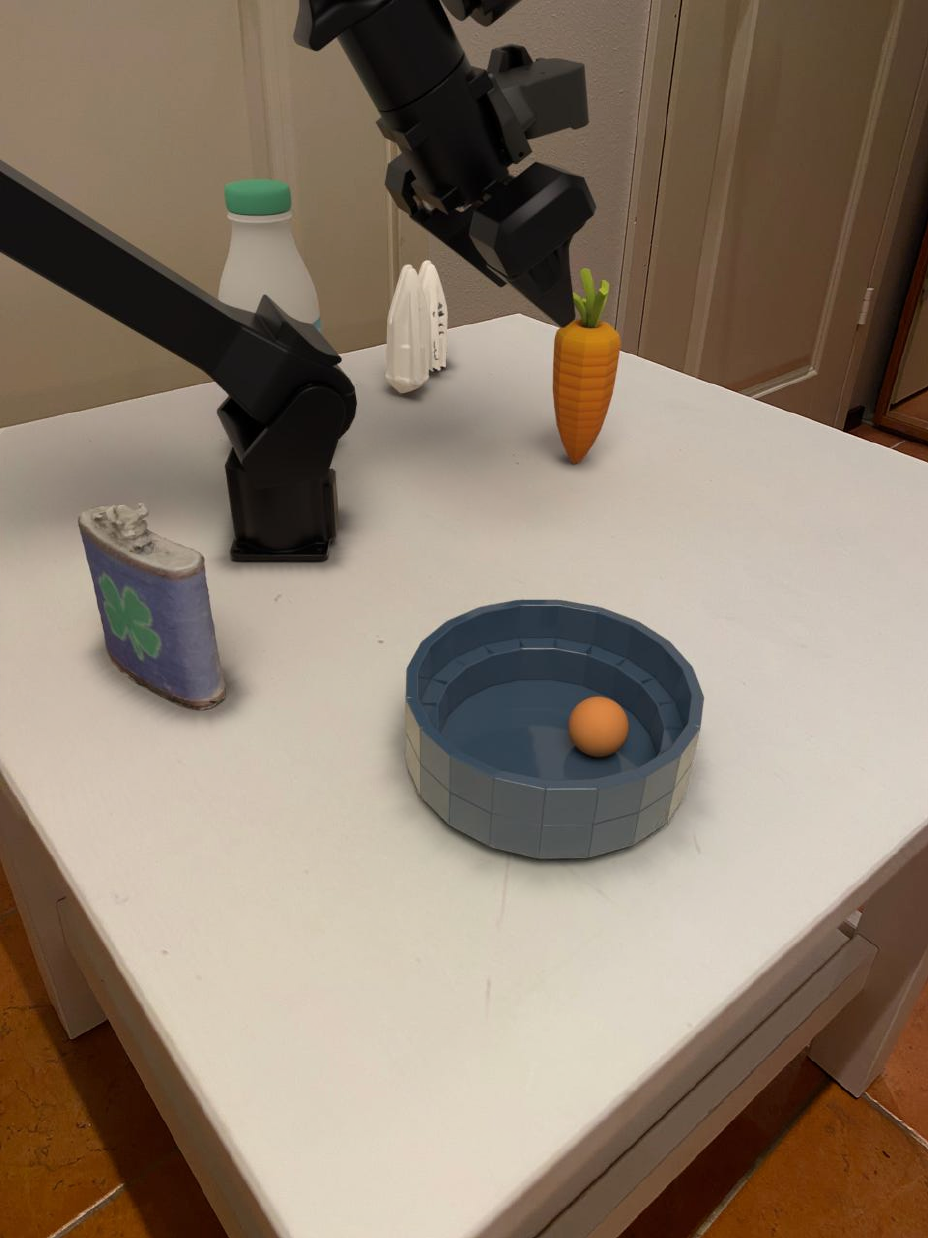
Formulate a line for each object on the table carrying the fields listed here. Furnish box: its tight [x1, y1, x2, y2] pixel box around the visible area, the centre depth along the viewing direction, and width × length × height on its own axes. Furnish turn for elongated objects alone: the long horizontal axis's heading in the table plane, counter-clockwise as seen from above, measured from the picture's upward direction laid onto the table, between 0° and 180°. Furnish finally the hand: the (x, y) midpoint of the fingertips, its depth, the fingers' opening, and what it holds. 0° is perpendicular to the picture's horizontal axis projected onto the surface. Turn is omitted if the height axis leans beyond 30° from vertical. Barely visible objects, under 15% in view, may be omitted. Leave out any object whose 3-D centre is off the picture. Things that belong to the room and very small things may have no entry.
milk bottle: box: [217, 178, 323, 397], centre depth 71 cm, size 8×8×20 cm
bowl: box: [404, 599, 705, 859], centre depth 46 cm, size 14×14×5 cm
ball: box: [568, 697, 629, 757], centre depth 47 cm, size 3×3×3 cm
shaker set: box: [384, 259, 449, 394], centre depth 87 cm, size 12×4×11 cm, turn 167°
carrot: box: [552, 267, 621, 465], centre depth 71 cm, size 5×5×15 cm
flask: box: [77, 502, 227, 711], centre depth 50 cm, size 9×3×11 cm, turn 51°
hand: (535, 301), depth 63 cm, fingers open, 9 cm apart
